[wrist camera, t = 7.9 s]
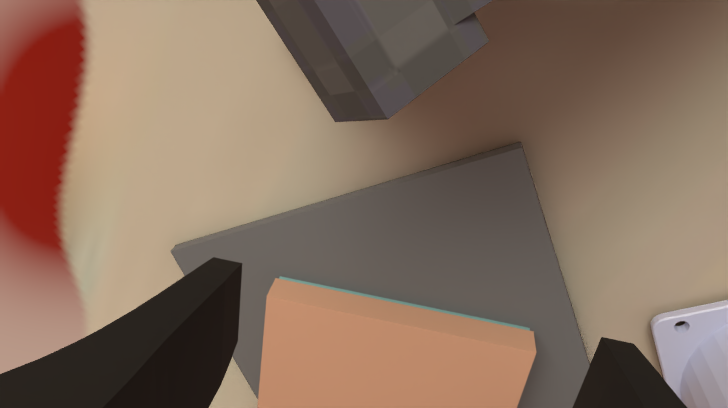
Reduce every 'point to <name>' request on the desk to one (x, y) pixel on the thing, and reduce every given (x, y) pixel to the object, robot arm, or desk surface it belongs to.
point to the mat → (420, 260)
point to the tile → (385, 353)
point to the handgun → (375, 48)
